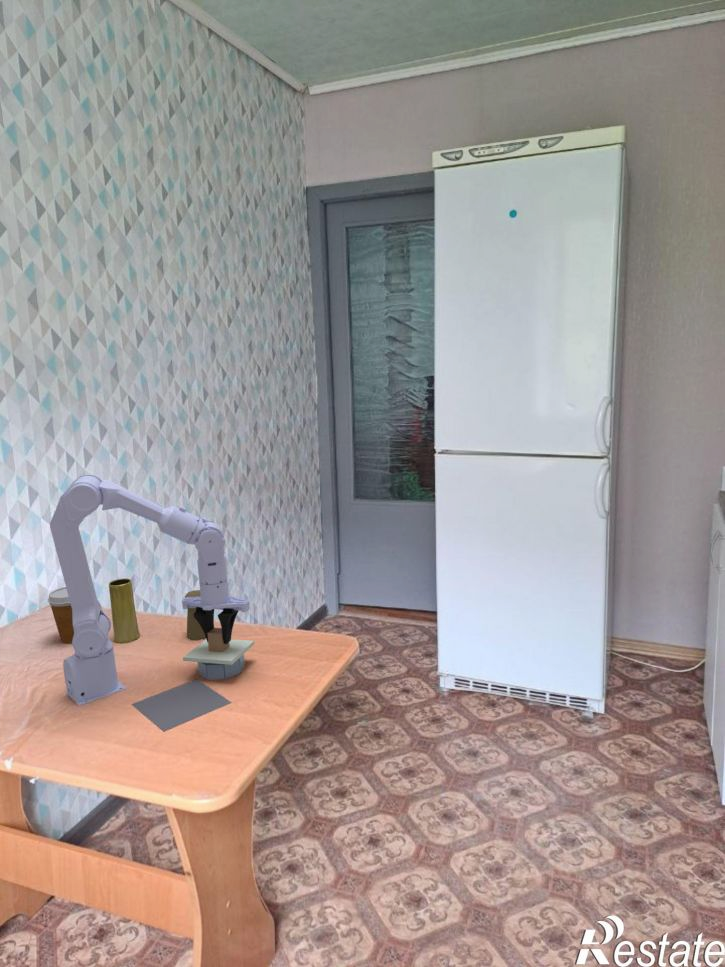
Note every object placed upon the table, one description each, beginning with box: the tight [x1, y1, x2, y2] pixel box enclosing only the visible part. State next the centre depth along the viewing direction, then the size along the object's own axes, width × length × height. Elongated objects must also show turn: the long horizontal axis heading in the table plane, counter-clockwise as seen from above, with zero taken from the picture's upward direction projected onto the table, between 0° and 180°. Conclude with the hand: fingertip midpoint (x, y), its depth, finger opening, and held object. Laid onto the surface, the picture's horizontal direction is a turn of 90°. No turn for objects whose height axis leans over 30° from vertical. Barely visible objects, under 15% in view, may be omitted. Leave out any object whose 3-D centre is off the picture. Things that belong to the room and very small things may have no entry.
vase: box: [108, 578, 141, 644], centre depth 163 cm, size 6×6×14 cm
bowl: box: [197, 653, 246, 680], centre depth 144 cm, size 9×9×4 cm
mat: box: [131, 678, 232, 733], centre depth 131 cm, size 14×14×1 cm
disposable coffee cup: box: [47, 586, 74, 644], centre depth 165 cm, size 10×10×12 cm
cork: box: [184, 589, 206, 641], centre depth 163 cm, size 6×6×11 cm
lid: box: [182, 627, 255, 665], centre depth 143 cm, size 11×11×5 cm
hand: (219, 641), depth 143 cm, fingers closed on lid, 3 cm apart
